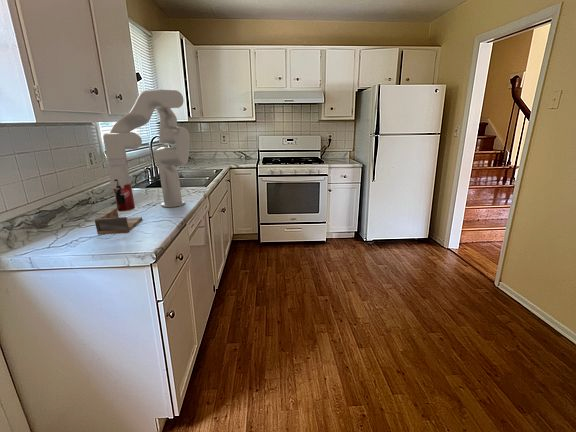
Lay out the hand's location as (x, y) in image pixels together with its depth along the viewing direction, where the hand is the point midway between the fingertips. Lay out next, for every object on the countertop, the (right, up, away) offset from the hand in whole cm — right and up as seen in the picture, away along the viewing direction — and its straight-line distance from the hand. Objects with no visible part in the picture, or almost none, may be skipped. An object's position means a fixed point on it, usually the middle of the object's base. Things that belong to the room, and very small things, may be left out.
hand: (125, 201), depth 138 cm
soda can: (0, -4, +1) cm, 4 cm away
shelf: (-1, -11, -2) cm, 12 cm away
